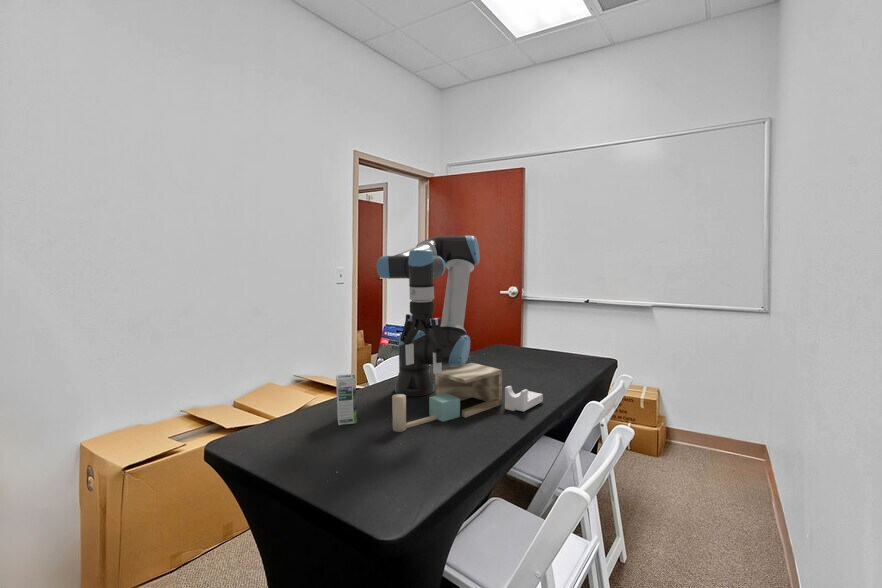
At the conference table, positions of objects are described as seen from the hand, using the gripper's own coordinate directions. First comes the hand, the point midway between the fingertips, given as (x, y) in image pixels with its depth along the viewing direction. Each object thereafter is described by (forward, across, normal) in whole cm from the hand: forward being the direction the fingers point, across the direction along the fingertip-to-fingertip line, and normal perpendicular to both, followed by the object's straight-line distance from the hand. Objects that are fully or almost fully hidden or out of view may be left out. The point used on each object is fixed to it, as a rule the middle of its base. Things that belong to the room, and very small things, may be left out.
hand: (423, 368), depth 134 cm
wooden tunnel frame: (+17, 0, +20) cm, 26 cm away
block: (+16, +2, -1) cm, 17 cm away
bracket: (+18, +13, +33) cm, 40 cm away
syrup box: (+16, -15, -19) cm, 29 cm away
